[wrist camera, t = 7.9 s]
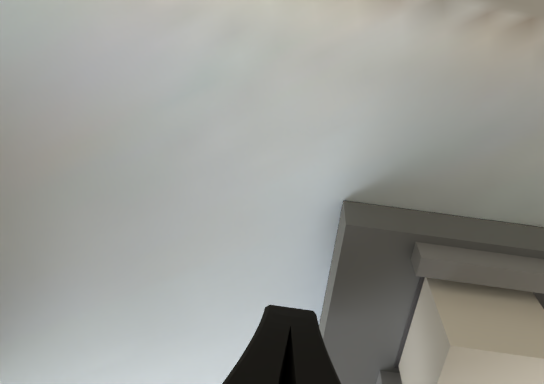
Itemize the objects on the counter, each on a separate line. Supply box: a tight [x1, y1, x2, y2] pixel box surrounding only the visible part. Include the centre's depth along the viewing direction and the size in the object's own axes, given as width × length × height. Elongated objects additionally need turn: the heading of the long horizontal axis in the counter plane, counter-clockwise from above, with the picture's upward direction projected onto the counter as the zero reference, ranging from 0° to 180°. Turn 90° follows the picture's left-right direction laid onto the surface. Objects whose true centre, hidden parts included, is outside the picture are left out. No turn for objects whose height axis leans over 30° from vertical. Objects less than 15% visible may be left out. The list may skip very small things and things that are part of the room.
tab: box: [399, 277, 544, 384], centre depth 13 cm, size 3×4×3 cm
